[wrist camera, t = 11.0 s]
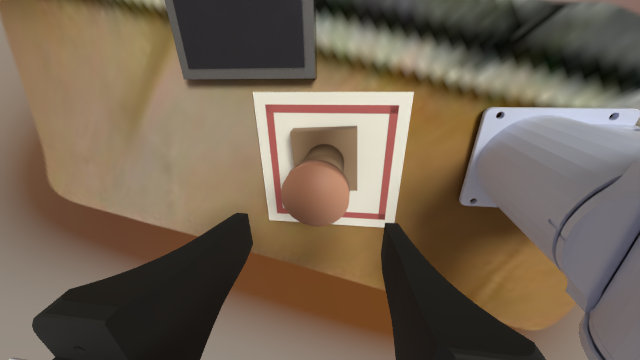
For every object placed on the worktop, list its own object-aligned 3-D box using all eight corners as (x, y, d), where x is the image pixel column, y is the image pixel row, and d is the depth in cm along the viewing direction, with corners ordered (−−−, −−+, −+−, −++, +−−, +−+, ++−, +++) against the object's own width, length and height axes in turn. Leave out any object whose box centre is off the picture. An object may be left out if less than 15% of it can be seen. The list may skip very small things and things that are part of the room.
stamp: (357, 124, 19) (358, 156, 12) (357, 182, 21) (358, 233, 15) (294, 127, 19) (266, 158, 13) (300, 182, 22) (278, 231, 15)
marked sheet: (412, 91, 17) (413, 92, 17) (392, 226, 23) (393, 228, 22) (254, 91, 19) (252, 92, 19) (270, 218, 24) (269, 220, 24)
